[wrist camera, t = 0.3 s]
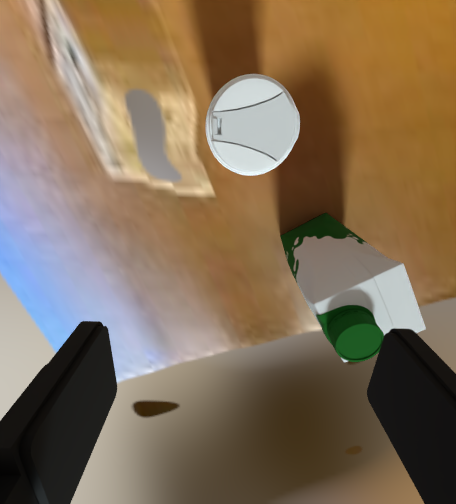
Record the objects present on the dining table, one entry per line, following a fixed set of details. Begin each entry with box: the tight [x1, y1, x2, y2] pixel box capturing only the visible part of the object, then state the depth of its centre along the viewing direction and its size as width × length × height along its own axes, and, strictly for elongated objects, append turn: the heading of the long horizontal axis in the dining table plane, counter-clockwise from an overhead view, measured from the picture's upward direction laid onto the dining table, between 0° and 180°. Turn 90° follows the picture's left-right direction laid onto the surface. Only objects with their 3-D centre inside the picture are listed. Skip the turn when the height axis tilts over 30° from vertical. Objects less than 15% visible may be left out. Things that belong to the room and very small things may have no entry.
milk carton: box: [280, 213, 426, 362], centre depth 31 cm, size 9×9×20 cm
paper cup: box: [206, 74, 300, 176], centre depth 28 cm, size 8×8×14 cm
